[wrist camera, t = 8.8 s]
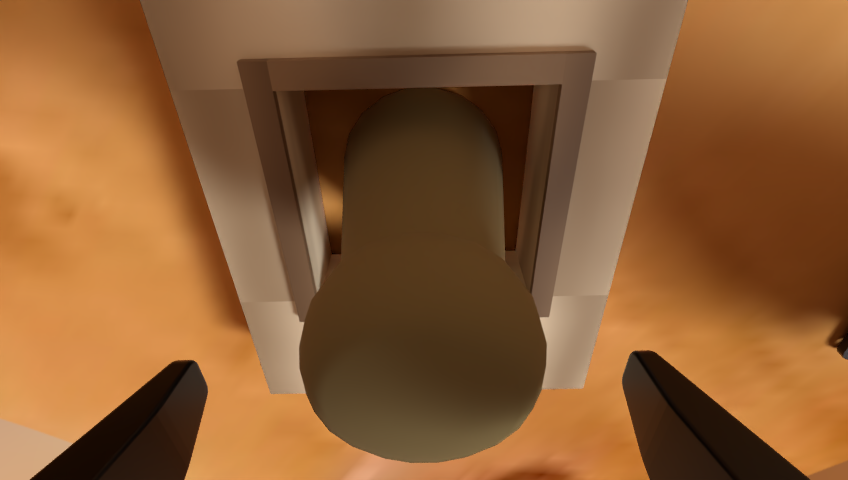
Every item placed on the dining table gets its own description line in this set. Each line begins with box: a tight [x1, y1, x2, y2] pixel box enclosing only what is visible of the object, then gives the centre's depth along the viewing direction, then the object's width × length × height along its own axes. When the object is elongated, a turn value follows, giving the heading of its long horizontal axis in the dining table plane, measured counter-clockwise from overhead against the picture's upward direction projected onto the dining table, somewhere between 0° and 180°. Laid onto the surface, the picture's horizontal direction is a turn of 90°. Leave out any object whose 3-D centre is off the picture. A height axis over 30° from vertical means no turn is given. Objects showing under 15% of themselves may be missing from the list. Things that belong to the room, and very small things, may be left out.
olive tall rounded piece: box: [299, 87, 547, 463], centre depth 13 cm, size 6×6×11 cm
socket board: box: [140, 0, 688, 394], centre depth 16 cm, size 14×19×3 cm
